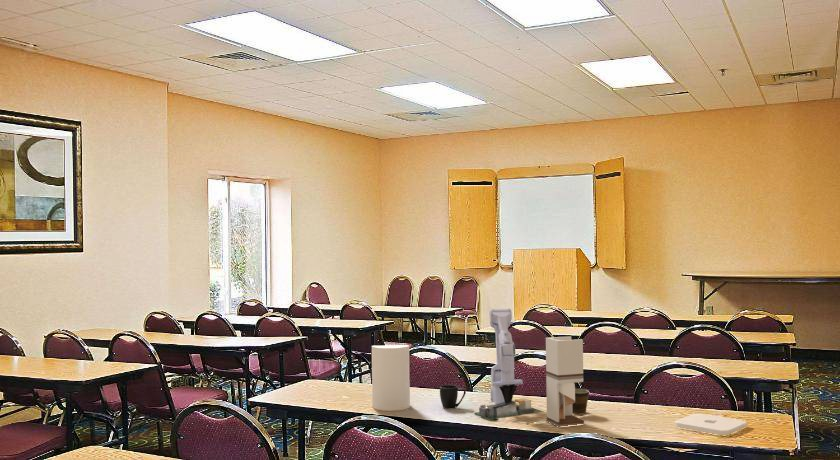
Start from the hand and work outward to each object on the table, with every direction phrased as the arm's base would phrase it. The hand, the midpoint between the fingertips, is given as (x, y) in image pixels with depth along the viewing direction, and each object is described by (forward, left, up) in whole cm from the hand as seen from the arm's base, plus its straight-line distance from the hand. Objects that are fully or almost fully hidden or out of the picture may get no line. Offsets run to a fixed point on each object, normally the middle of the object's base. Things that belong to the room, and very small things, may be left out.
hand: (508, 402), depth 325 cm
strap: (0, -4, -1) cm, 4 cm away
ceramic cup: (+15, +25, -5) cm, 29 cm away
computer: (+60, +57, -6) cm, 83 cm away
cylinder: (-40, -37, -5) cm, 55 cm away
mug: (-23, -14, -5) cm, 28 cm away
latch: (0, +8, -4) cm, 9 cm away
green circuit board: (0, +1, -5) cm, 5 cm away
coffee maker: (+26, +11, -5) cm, 29 cm away
